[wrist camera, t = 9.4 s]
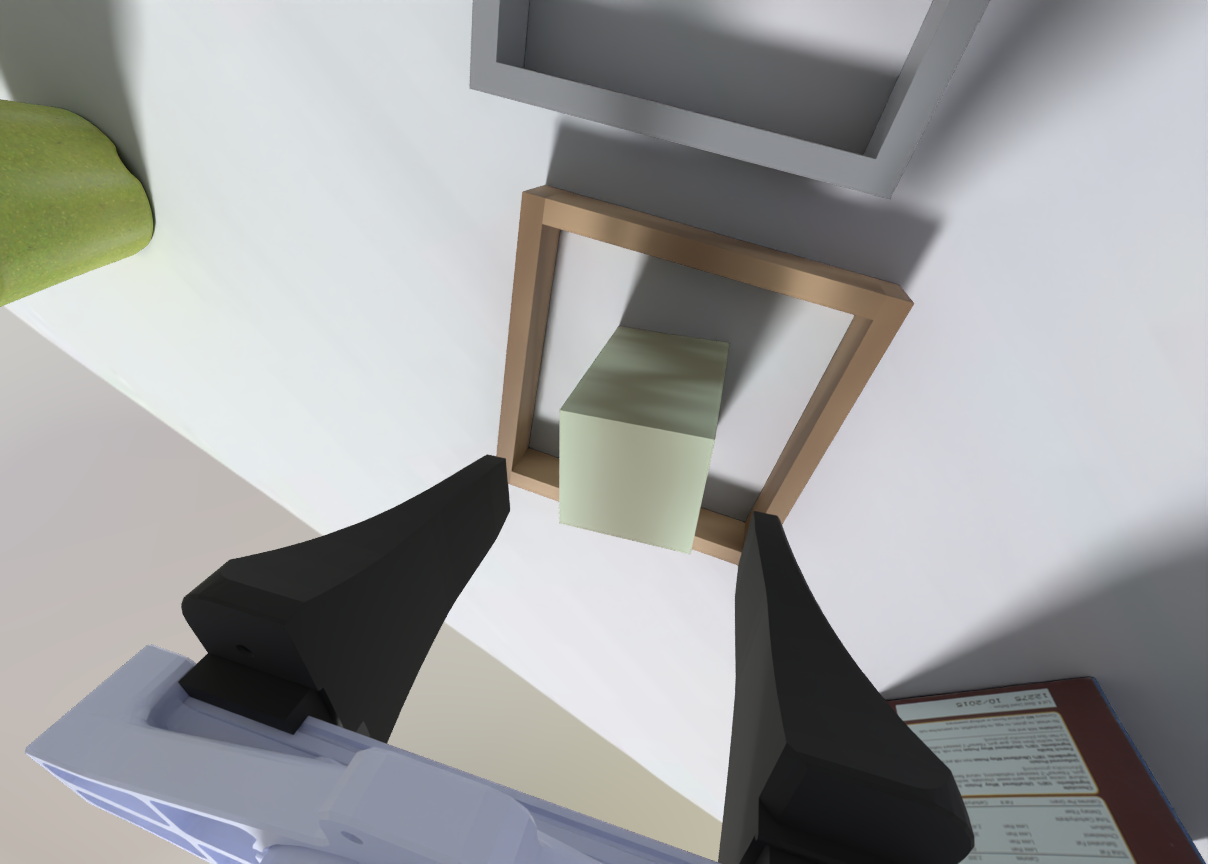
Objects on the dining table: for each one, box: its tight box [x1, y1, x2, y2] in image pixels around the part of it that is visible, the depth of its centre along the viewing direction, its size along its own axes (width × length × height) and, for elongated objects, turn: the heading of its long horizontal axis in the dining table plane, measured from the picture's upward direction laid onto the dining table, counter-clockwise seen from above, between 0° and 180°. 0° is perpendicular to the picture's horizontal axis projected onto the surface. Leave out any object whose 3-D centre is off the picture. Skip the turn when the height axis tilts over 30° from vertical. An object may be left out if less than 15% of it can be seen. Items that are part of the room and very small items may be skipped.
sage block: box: [559, 326, 730, 554], centre depth 18 cm, size 4×4×7 cm
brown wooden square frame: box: [496, 185, 914, 565], centre depth 20 cm, size 13×13×2 cm
